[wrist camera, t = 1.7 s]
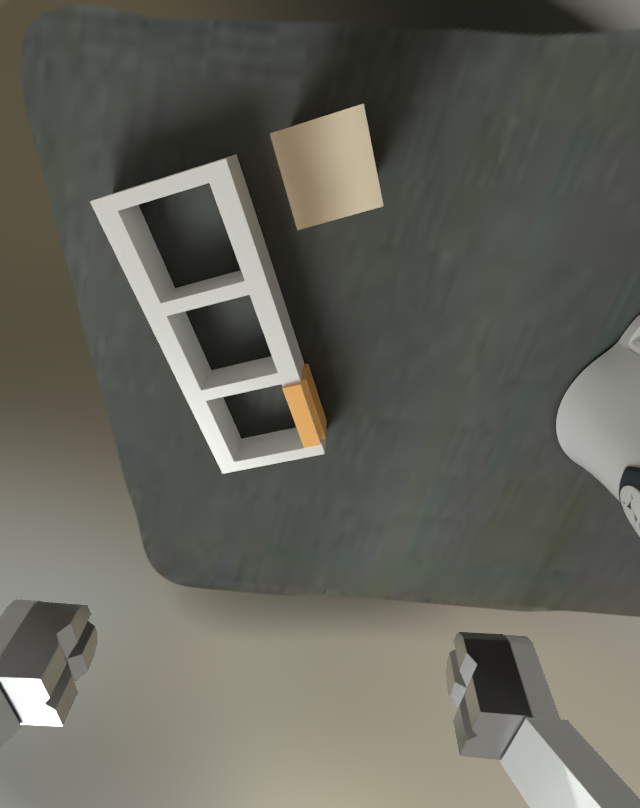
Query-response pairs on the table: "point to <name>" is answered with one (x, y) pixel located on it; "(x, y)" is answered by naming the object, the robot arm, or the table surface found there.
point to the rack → (171, 303)
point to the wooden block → (328, 167)
